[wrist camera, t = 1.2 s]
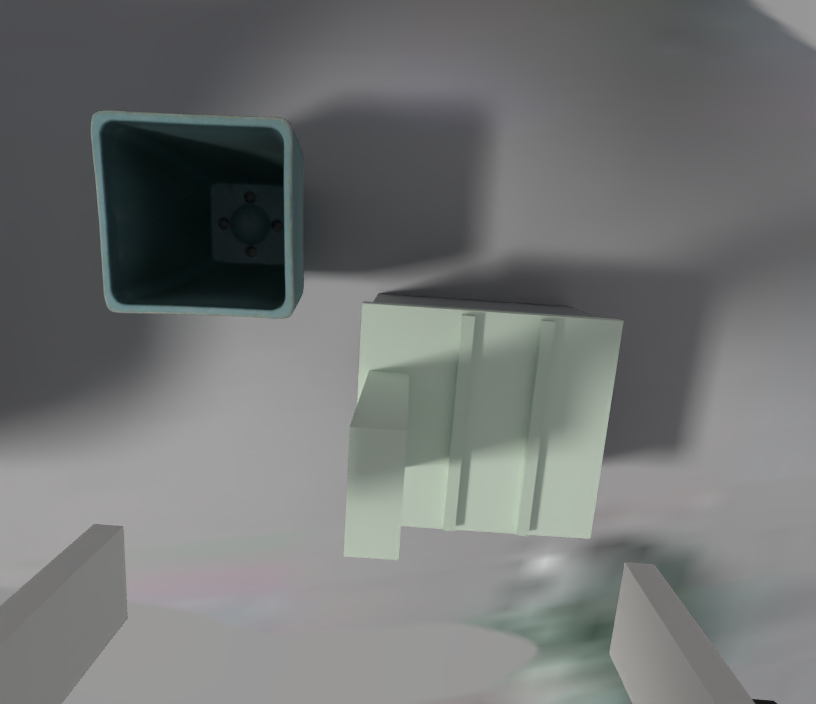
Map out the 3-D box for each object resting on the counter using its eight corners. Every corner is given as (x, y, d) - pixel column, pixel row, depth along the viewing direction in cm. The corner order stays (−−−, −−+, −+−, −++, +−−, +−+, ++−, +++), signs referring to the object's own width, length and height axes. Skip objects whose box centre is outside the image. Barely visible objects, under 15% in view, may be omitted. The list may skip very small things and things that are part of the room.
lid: (354, 507, 29) (326, 633, 20) (365, 299, 27) (339, 331, 18) (580, 522, 29) (658, 655, 20) (611, 316, 27) (716, 357, 18)
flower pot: (325, 150, 31) (291, 116, 23) (325, 298, 33) (293, 320, 25) (177, 144, 31) (86, 108, 23) (185, 293, 33) (104, 312, 25)
